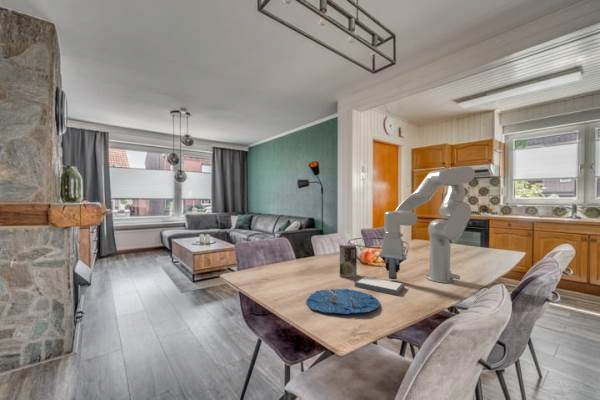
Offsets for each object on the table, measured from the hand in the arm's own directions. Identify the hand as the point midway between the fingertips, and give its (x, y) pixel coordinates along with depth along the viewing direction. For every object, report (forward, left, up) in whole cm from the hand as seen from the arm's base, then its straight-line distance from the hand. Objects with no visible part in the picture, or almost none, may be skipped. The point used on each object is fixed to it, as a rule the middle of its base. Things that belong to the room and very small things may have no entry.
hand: (392, 270), depth 133 cm
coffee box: (+23, +5, -5) cm, 24 cm away
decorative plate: (+9, +40, -6) cm, 42 cm away
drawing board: (+3, +13, -5) cm, 15 cm away
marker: (0, 0, -4) cm, 4 cm away
